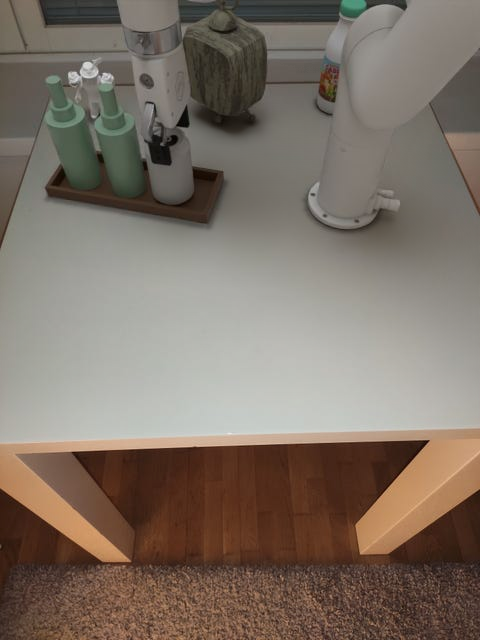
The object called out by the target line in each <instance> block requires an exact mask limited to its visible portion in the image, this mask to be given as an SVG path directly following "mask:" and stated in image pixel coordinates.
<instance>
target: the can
mask: <svg viewBox="0 0 480 640" xmlns="http://www.w3.org/2000/svg"><path fill="white" fill-rule="evenodd" d="M153 132H154V135H158V136H160V134H161V127H153ZM166 142H169V147H170V153H171V159H172V164H171V166H167V165H159V164H153V163H152V161H151V157H150V152H149V147H148V144H146V142H144V143H143V150H144V155H145V158H146V161H147V167H148V172H149V177H150V182H151V188H152V192H153V196H154V197H155V198H156V200H158V201H159V202H161V203H164V204H168V205H178V204H181V203H183V202H185V201H187V200H188V199H189V198H191V196H192V195H193V193H194V181H193V170H192V166H193V161H192V151H191V150H192V149H191V142H190V139H189V138H188V137H187V136H186V134H185V132H184V130H182V129H181V128H180V127H173V128H172V129H171V128H167V135H166Z"/></svg>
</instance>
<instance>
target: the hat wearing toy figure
mask: <svg viewBox="0 0 480 640" xmlns="http://www.w3.org/2000/svg"><path fill="white" fill-rule="evenodd" d="M102 59H103V57H102V56H101V57H100V56H99V57H98V58H96V59H92V60H91V61H92V62H91V61H85V62H83V63H82V66H81V68H80V70H79V74H80V75H79V74H78V72H77V71H74V70H70V71H68V73H67V79H68V85H70V87H72V88H74V89H76V93H75V97H74V101H75V102H76V104H78V103H80V101H81V100H82V96H83V95H82V93H83V92H84V91H85V92H86V94H87V101H88V108H89V113H90V117H91V118H92V119H97V118H98V117H99V116H100V115H99V114H100V112H99V110H100V111H101V109H102V108H103V104H102V100H101V97H100V93H99V89H98V88H99V86H100V85H101V84H103V83H110V84H112V85H113V87H114V88H115V87H116V86H115V77H114V75H112V74H111V73H110V72H108V73H107V72H105V71H104V72H103V73H102V76H101V75H100V74H99V68H98V66H99V65H98V64H101V63H102V62H103V60H102ZM73 84H74V85H73ZM75 84H77V85H75ZM97 105H98V107H99V110H98V109H97Z"/></svg>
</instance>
